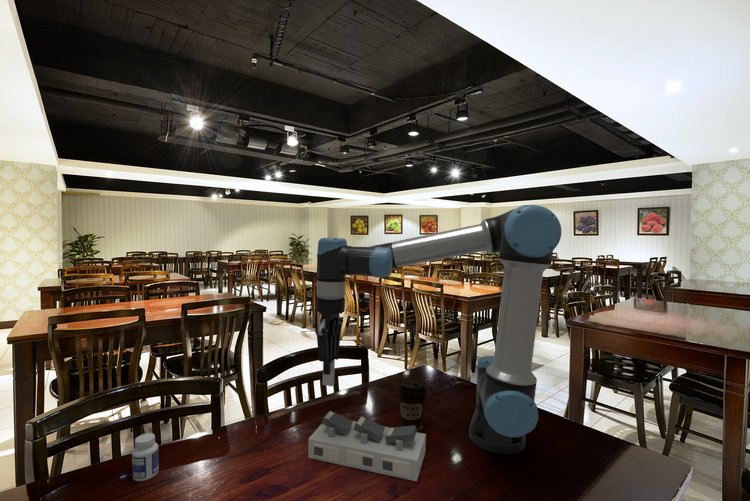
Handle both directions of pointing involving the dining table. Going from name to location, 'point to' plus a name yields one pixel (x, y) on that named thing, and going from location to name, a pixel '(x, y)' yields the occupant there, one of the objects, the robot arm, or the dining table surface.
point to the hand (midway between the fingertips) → (328, 384)
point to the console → (368, 452)
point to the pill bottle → (145, 457)
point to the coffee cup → (412, 403)
